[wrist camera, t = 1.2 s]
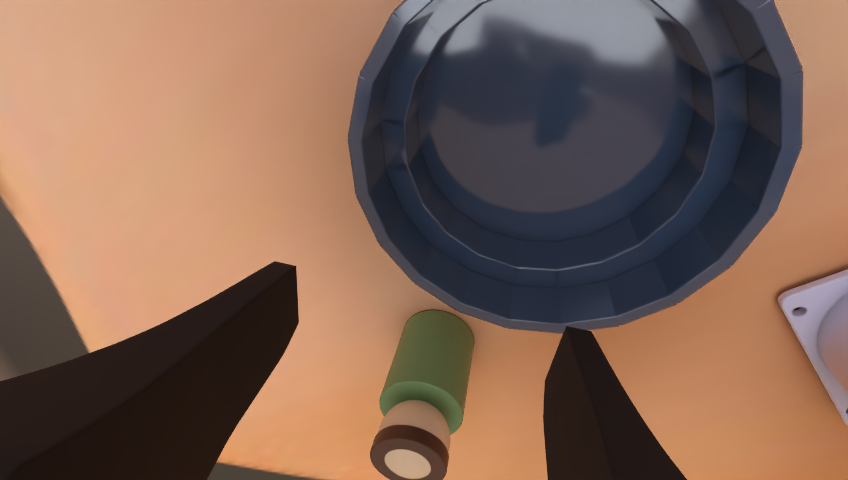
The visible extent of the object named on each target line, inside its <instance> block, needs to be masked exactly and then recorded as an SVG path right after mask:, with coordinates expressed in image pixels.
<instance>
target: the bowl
mask: <svg viewBox="0 0 848 480" xmlns="http://www.w3.org/2000/svg"><path fill="white" fill-rule="evenodd" d="M802 117H803V71H802V66H801V63H800V61H799V59H798V56H797V54H796V52H795V49H794V47H793V45H792V42H791V40H790V38H789V35H788V33H787V31H786V28H785V26H784V24H783V21H782V19H781V17H780V14H779V12H778V10H777V7H776V5H775V3H774V0H404V1H403V2H402V3H401V4H400V5H399V6H398V7H397V8H396V9H395V10H394V11H393V13H392V14H391V16H390V18H389V19H388V21H387V23H386V25H385V27H384V29H383V31H382V32H381V34H380V36H379V38H378V40H377V42H376V44H375V45H374V47H373V49H372V51H371V53H370V55H369V57H368V58H367V60H366V62H365V64H364V66H363V68H362V70H361V71H360V75H359V77H358V82H357V87H356V93H355V99H354V104H353V110H352V116H351V121H350V127H349V133H348V144H349V151H350V158H351V165H352V172H353V179H354V186H355V193H356V197H357V199H358V201H359V203H360V205H361V207H362V209H363V212H364V214H365V216H366V218H367V220H368V222H369V224H370V226H371V228H372V230H373V233H374V235H375V237H376V239H377V241H378V243H380V246H381V247H382V248H383V249H384V250H385V251H386V252H387V254H388V255H389V256H390V257H391V258H392V259H393V260H394V261H395V263H396V264H397V265H398V266H399V267H400V268H401V269H402V270H403V272H404V273H405V274H406V275H407V276H408V277H409V278H410V279H411V280H412V282H414V283H415V284H416V285H418V286H419V287H421V288H422V289H424V290H425V291H427V292H428V293H430V294H432V295H433V296H435V297H436V298H438V299H439V300H441V301H442V302H444V303H445V304H447V305H448V306H450V307H451V308H453V309H455V310H456V311H457V310H458V312H461V313H464V314H467V315H470V316H473V317H476V318H478V319H481V320H484V321H487V322H490V323H493V324H496V325H499V326H502V327H505V328H507V327H508V328H509V329H518V330H529V331H539V332H550V333H560V334H561V333H564V331H565V328H566V326H569V327H574V328H578V329H583V330H594V329H601V328H609V327H616V326H619V325H624V324H626V323H629V322H632V321H634V320H637V319H640V318H642V317H645V316H647V315H650V314H653V313H655V312H658V311H661V310H663V309H666V308H668V307H671V306H674V305H676V304H677V303H680V302H681V301H683V300H684V299H685V298H687V297H688V296H690V295H691V294H693V293H694V292H696V291H697V290H698V289H700V288H701V287H703V286H704V285H706V284H707V283H708V282H710V281H711V280H713V279H714V278H716V277H717V276H718V275H720V274H721V273H723V272H724V271H726V270H727V269H728V268H730V266H732V265H733V264H734V263H735V261H736V260H737V259H738V258H739V257H740V255H741V254H742V253H743V252H744V251H745V249H746V248H747V247H748V246H749V245H750V243H751V242H752V241H753V240H754V238H755V237H756V236H757V235H758V234H759V232H760V231H761V230H762V229H763V228H764V226H765V225H766V224H767V223H768V222H769V220H770V219H771V218H772V217H773V215H774V213H776V211H777V208H778V206H779V203H780V201H781V198H782V196H783V193H784V191H785V188H786V186H787V183H788V181H789V178H790V176H791V173H792V171H793V168H794V166H795V163H796V161H797V158H798V156H799V153H800V151H801V148H802V146H801V145H802Z"/></svg>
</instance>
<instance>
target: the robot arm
mask: <svg viewBox="0 0 848 480" xmlns="http://www.w3.org/2000/svg"><path fill="white" fill-rule="evenodd" d="M778 304H779V306H780V307H781V309H782V311H783V313H784V315H785V316H786V318H787V320H788V322H789V324H790V325H791V327H792V329H793V331H794V333H795V335H796V336H797V338H798V340H799V342H800V344H801V345H802V347H803V349H804V351H805V353H806V354H807V356H808V358H809V360H810V362H811V363H812V365H813V367H814V369H815V371H816V373H817V374H818V376H819V378H820V380H821V382H822V383H823V385H824V387H825V389H826V391H827V392H828V394H829V396H830V398H831V400H832V402H833V403H834V405H835V407H836V409H837V411H838V412H839V414H840V416H841V418H842V420H843V421H844V423H845V424H846V426H848V269H847V270H844V271H841V272H838V273H835V274H833V275H830V276H827V277H824V278H821V279H818V280H816V281H813V282H810V283H807V284H804V285H802V286H799V287H796V288H793V289H790V290H788V291H785V292H783V293H782V294H781V295H780V296H779V297H778ZM797 307H801V308H800V309H798V310H794V309H795V308H797ZM793 310H794V311H793ZM298 323H299V318H298V297H297V276H296V266H293V265H289V264H284V263H280V262H273V263H271V264H269V265H267V266H266V267H264V268H262V269H260V270H259V271H257V272H255V273H254V274H252V275H250V276H248V277H247V278H245V279H243V280H242V281H240V282H238V283H237V284H235V285H233V286H231V287H230V288H228V289H226V290H224V291H223V292H221V293H219V294H217V295H216V296H214V297H212V298H210V299H209V300H207V301H205V302H203V303H201V304H199V305H197V306H195V307H193V308H191V309H190V310H188V311H186V312H184V313H182V314H180V315H178V316H176V317H174V318H172V319H170V320H168V321H166V322H164V323H162V324H160V325H158V326H156V327H153V328H151V329H149V330H147V331H145V332H142V333H140V334H137V335H135V336H133V337H130V338H128V339H126V340H123V341H121V342H118V343H116V344H113V345H111V346H108V347H105V348H102V349H100V350H97V351H94V352H91V353H89V354H86V355H83V356H80V357H78V358H75V359H73V360H69V361H67V362H64V363H61V364H57V365H54V366H51V367H48V368H45V369H42V370H38V371H35V372H32V373H28V374H25V375H21V376H18V377H15V378H11V379H7V380H4V381H0V480H207V479H208V477H209V475H210V473H211V471H212V469H213V467H214V465H215V463H216V461H217V460H218V458H219V456H220V454H221V452H222V450H223V448H224V446H225V444H226V443H227V441H228V439H229V437H230V436H231V434H232V432H233V431H234V429H235V427H236V426H237V424H238V423H239V421H240V420H241V418H242V417H243V415H244V414H245V412H246V411H247V409H248V408H249V406H250V405H251V403H252V402H253V400H254V399H255V397H256V395H257V394H258V392H259V391H260V389H261V388H262V386H263V385H264V383H265V382H266V380H267V379H268V377H269V376H270V374H271V373H272V371H273V370H274V368H275V367H276V365H277V364H278V362H279V360H280V359H281V357H282V356H283V354H284V352H285V350H286V348H287V346H288V344H289V342H290V340H291V338H292V336H293V334H294V331H295V329H296V327H297V325H298ZM543 421H544V435H545V449H546V461H547V474H548V480H687V479H686V478H685V477H684V475H683V474H682V473H681V471H680V470H679V469H678V468H677V466H676V465H675V464H674V463H673V461H672V460H671V459H670V457H669V456H668V455H667V453H666V452H665V451H664V449H663V448H662V447H661V445H660V444H659V442H658V441H657V439H656V438H655V436H654V435H653V434H652V432H651V431H650V429H649V428H648V426H647V425H646V423H645V422H644V420H643V419H642V417H641V416H640V414H639V413H638V411H637V409H636V408H635V406H634V405H633V403H632V401H631V400H630V398H629V396H628V395H627V393H626V392H625V390H624V388H623V387H622V385H621V383H620V382H619V380H618V378H617V376H616V375H615V373H614V371H613V369H612V368H611V366H610V364H609V362H608V361H607V359H606V357H605V355H604V353H603V352H602V350H601V348H600V346H599V344H598V342H597V341H596V339H595V337H594V335H593V334H592V332H591V331H587V330H583V329H578V328H574V327H569V326H566V328H565V331H564V333H563V336H562V338H561V341H560V343H559V346H558V349H557V351H556V354H555V356H554V359H553V361H552V364H551V366H550V369H549V372H548V374H547V377H546V379H545V391H544V414H543Z"/></svg>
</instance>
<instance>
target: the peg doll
mask: <svg viewBox="0 0 848 480" xmlns="http://www.w3.org/2000/svg"><path fill="white" fill-rule="evenodd" d="M473 347H474V337H473V334H472V332H471V330H470V328H469V327H468V325H467V324H466V323H465V322H464V321H462V320H461V319H460V318H458V317H457V316H455V315H453V314H450V313H448V312H444V311H438V310H428V311H423V312H420V313H417V314H415V315H414V316H412V317H411V318H410V319H409V320H408V321H407V323H406V324H405V327H404V330H403V333H402V336H401V338H400V341H399V344H398V347H397V350H396V353H395V356H394V359H393V362H392V365H391V367H390V370H389V373H388V376H387V379H386V382H385V385H384V388H383V391H382V394H381V397H380V408H381V411H382V413H383V415H384V418H383V420H382V422H381V425H380V427H379V431H378V433H377V435H376V436H375V439H374V442H373V445H372V448H371V451H370V458H371V461H372V464H373V465H374V467H375V468H376V469H377V470H378V471H379V472H380V473H381V474H382V475H384V476H385V477H387V478H388V479H390V480H443V478H444V477H445V475H446V472H447V466H448V460H449V454H448V451H449V446H450V435H451V434H453V433H454V432H455V431H457V430H458V428H459V427H460V426H461V424H462V421H463V415H464V408H465V401H466V394H467V388H468V381H469V374H470V367H471V360H472V354H473Z"/></svg>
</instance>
